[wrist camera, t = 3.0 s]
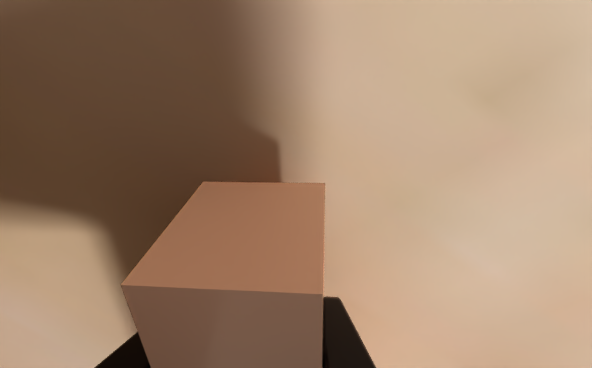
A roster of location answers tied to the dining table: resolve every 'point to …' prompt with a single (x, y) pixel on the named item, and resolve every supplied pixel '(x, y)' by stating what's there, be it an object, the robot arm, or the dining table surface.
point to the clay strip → (235, 280)
